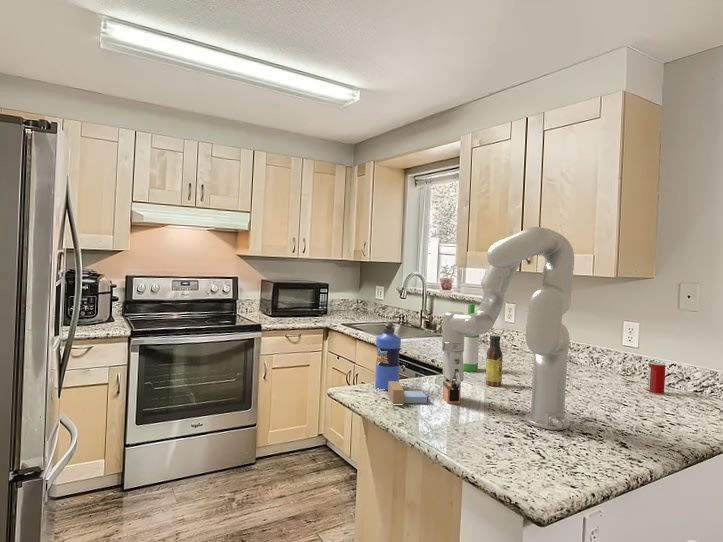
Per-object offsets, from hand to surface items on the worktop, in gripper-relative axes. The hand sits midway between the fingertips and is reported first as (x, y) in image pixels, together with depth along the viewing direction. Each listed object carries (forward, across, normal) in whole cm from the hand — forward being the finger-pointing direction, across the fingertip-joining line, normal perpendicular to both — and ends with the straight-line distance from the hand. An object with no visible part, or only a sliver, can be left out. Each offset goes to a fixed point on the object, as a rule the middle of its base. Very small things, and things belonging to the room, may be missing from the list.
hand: (451, 397), depth 160 cm
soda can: (+1, +10, -86) cm, 86 cm away
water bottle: (+1, +16, +20) cm, 26 cm away
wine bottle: (+1, +45, -22) cm, 50 cm away
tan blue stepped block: (+1, 0, +15) cm, 15 cm away
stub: (+1, 0, 0) cm, 1 cm away
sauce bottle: (+1, +21, -24) cm, 32 cm away
